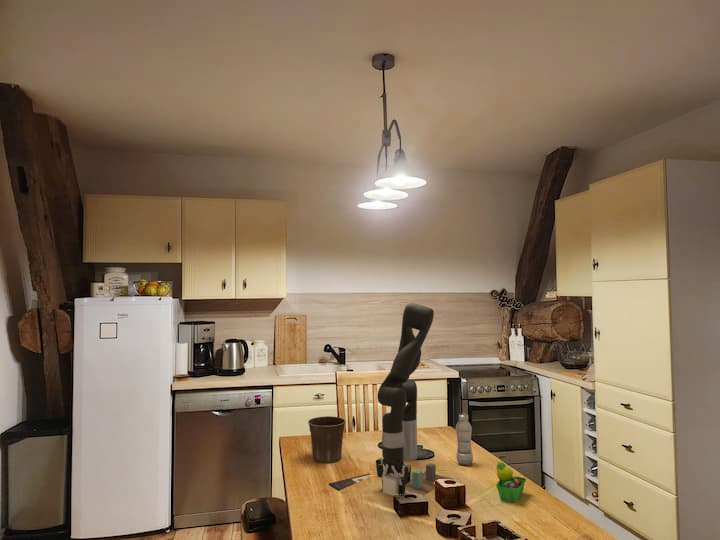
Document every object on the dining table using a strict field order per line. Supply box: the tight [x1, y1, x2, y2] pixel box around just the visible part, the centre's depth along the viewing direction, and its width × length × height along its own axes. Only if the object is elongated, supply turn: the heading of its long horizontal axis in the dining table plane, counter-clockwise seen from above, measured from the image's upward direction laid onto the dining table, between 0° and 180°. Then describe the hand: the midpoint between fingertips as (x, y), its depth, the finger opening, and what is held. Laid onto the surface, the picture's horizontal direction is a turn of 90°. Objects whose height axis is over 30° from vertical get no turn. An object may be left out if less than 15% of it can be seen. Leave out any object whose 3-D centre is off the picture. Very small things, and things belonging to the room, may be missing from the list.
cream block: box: [382, 474, 402, 497], centre depth 178 cm, size 5×5×7 cm
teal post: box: [411, 469, 423, 489], centre depth 183 cm, size 3×3×5 cm
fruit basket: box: [495, 461, 527, 503], centre depth 176 cm, size 11×9×11 cm
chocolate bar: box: [328, 473, 374, 493], centre depth 190 cm, size 9×1×18 cm
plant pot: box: [307, 415, 346, 464], centre depth 219 cm, size 16×16×16 cm
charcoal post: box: [425, 462, 437, 481], centre depth 190 cm, size 3×3×5 cm
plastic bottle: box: [455, 413, 474, 466], centre depth 210 cm, size 6×7×20 cm
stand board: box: [405, 471, 454, 496], centre depth 186 cm, size 20×12×1 cm, turn 140°
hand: (393, 492), depth 178 cm, fingers open, 6 cm apart
